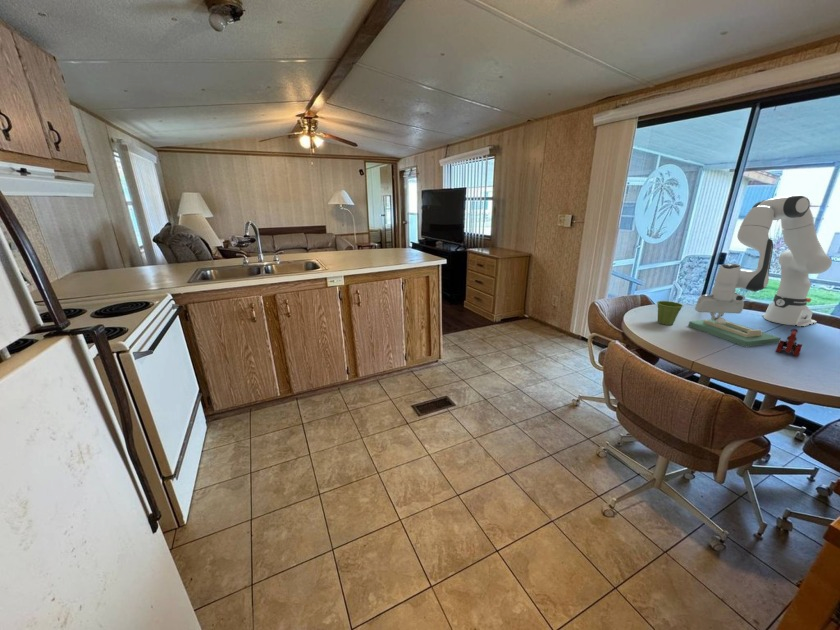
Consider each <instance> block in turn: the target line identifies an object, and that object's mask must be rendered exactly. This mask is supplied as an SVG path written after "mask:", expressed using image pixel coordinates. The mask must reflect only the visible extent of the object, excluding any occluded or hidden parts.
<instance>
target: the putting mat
mask: <svg viewBox="0 0 840 630" xmlns="http://www.w3.org/2000/svg"><path fill="white" fill-rule="evenodd" d="M687 327H690V328H693V329H695V330H699V331H701V332H704V333H706V332H707V334H709V335H711V336H715V337H718V338H719V339H720V338H721V339H723V340H725V339H726V340H725V341H728V340H729V341H728V342H732V343H733V342H734V344H736V343H737V345H739V346H742V347H744V346H745V348H746V346H747V347H755V346H763V345H771V344H779V343H780V341H781V337H779V336H777V335H772V334H770V333H766V332H764V331H762V329H754V328H750V327H747V326H746V325H745V326H744V325H742V324H738V323H735V322H732V321H728V320H726V323H725V324H724V325H720V324H717V323H716V321H712V320H711V319H702V320H694V321H693V320H692V321H689V322H688V326H687Z"/></svg>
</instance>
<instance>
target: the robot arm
mask: <svg viewBox="0 0 840 630" xmlns="http://www.w3.org/2000/svg"><path fill="white" fill-rule="evenodd" d="M810 202H811V201H810V199H809V198H808V197H807V196H806V195H803V194H793V195H784V196H778V197H774V198H770V199H764V200H760V201H758V202H756V203H755V204H754V205H753V206H752V207H751V209H750V210H749V211H748V212H747V214H746V215H745V216H744V218H743V220H742V222H741V225H740V227H739V228H738V232H737V240H738V241H739V242H740V243H741V244H742V245H744V246H746V247H747V248H751V249H753V250H755V251H756V252H758V253H759V257H758V262H757V267H756V268H757V269H755V270H750V269H741V268H742V266H741V264H739V263H735V262H729V263H727V262H726V263H722V264H721V265H720V267H719V269H718V271H717V273H716V276H715V279H714V284H713V286H712V289H711V292H710V293H711V294H702V295H700V296H699V297H698V300H697V302H696V304H695V307H694V309H695V311H696V312H698V313H709V314H710V317H711V318H710V320H712V321H716V319H718V318H723V316H724V314H741V313H742V312H743V310H744V306H745V300H746V297H745V296H744V295H742V294H738V293H736V290H737V289H742V290H746V291H751V292H759V291H762V290H764V289H765V288H766V287H767V286H768V284H769V278H770V276H769V275H770V269H771V263H772V257H773V252H774V242H773V240H772V239H771V238H770V237H769V233H770V230H771V227H772V223H773V221H780V225H781V226H780V227H781V233H782V236H783V237H782V238H783V242H784V244H785V246H786V247H787V248H788V249H787V250H784V251H782V253H780V255H779V257H778V263H779V264H780V282H779V285H778V287H777V288H778V289H777V292H776V293H775V295H774V296H773V300H772V302H770V303H769V304H768V306H767V309H766V311H765V312H764V313H762V315H761V316H762V317H763V319H765V320H767V321H769V322H773V323H777V324H781V325H787V326H795V325H797V326H796V327H801V326H804V327H807V326H810V325H809V324H811V325H814V324H817V320H815V319H812V316H813V311H812V310H811V309H810V308H809V307H808V305H807V303H810V302H811V301H812V298H810V297H809V298H808V297H807V296H808V293H809V291H810V290H811V289H810V288H811V284H812V283H811V281H810V279H809V278H810V277H809V275H818V274H822V273H824V272H827V271H828V270H829V269H830V268H831V267H832V263H833V261H832V259H831V257H830V256H829V255H828V254H826V252H825V250H824V249H823V247H822V245H821V243H820V241H819V239H818V237H817V231H816V227H815V220H814V216H813V213H812V211H811V208H810V206H811V203H810ZM813 323H814V324H813Z"/></svg>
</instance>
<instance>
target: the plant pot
mask: <svg viewBox="0 0 840 630" xmlns="http://www.w3.org/2000/svg"><path fill="white" fill-rule="evenodd" d="M656 303H657V323H658V324H662V325H664V324H665V325H666V326H671V325H674V323H675V321H676V319H677V317H678V315H679V313H680V312H681V309H682V308H683V307H684V305H683V304H682V303H679V302H676V301H668V300H657V301H656Z"/></svg>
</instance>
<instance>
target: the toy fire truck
mask: <svg viewBox="0 0 840 630" xmlns="http://www.w3.org/2000/svg"><path fill="white" fill-rule="evenodd" d="M797 333H798V329H796V328H792V329H790V335H789V336H787V337H786V340H781V339H780V341H779V343H777V347H776V349H775V352H776V353H781V352H782V350H783V351H784V352H785V353H789V354H790V353H791V352H792V353H793V354H792V356H794V357H799V355H800V352H801V350H802V348H803V344H802V343H797V340H798V337H797Z"/></svg>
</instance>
